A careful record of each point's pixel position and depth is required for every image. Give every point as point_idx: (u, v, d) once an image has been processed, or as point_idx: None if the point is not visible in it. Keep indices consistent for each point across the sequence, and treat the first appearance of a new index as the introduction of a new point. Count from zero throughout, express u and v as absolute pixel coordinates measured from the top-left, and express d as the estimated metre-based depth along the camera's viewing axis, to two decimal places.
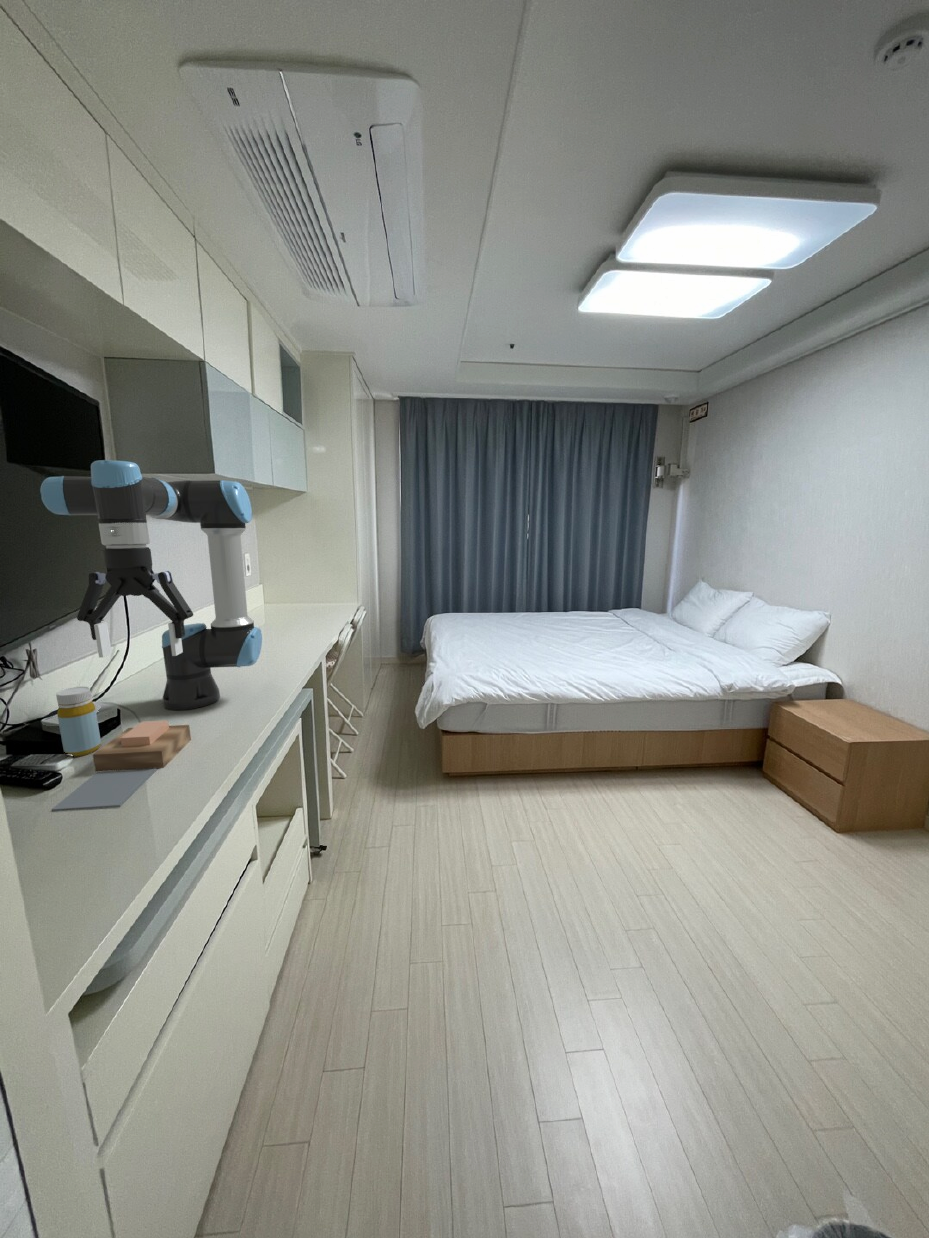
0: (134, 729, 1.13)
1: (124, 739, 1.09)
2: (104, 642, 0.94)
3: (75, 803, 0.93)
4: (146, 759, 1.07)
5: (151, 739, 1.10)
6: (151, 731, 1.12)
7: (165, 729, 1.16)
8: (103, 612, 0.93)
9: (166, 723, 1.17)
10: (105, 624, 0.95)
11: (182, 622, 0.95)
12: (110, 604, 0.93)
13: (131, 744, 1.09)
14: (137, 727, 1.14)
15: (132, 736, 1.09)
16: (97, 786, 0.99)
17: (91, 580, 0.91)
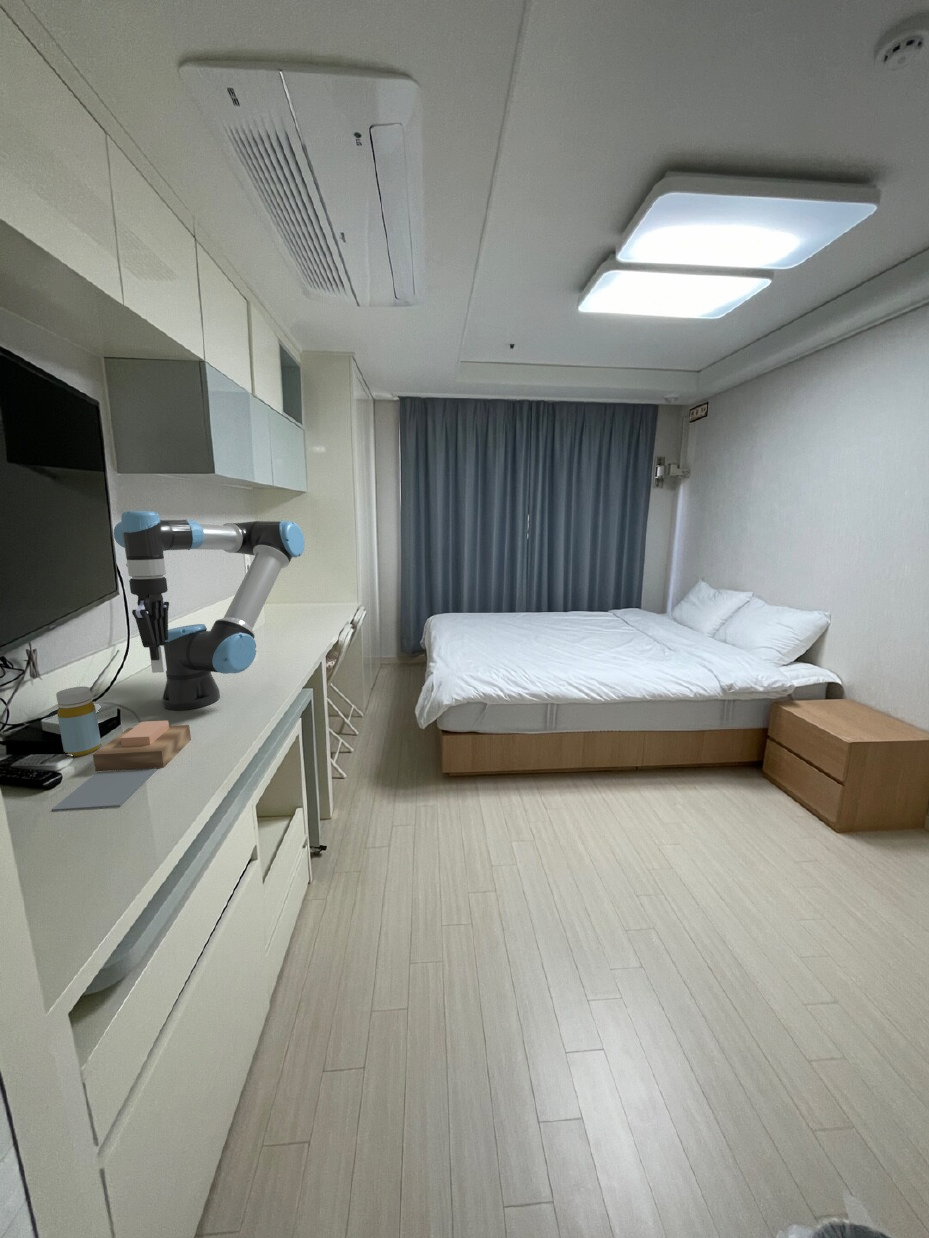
0: (134, 729, 1.13)
1: (124, 739, 1.09)
2: None
3: (75, 803, 0.93)
4: (146, 759, 1.07)
5: (151, 739, 1.10)
6: (151, 731, 1.12)
7: (165, 729, 1.16)
8: None
9: (166, 723, 1.17)
10: None
11: (153, 648, 1.17)
12: None
13: (131, 744, 1.09)
14: (137, 727, 1.14)
15: (132, 736, 1.09)
16: (97, 786, 0.99)
17: None
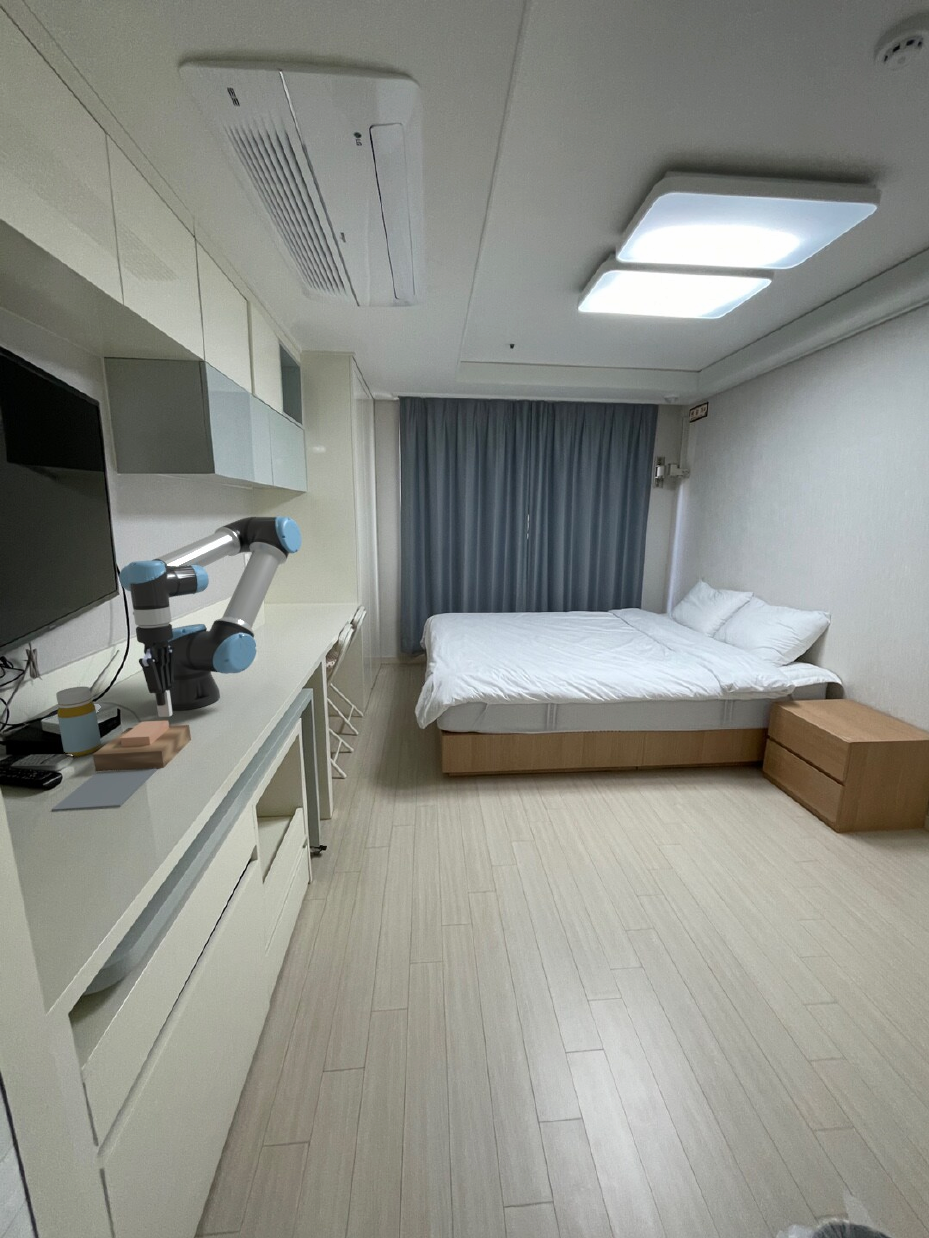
0: (134, 729, 1.13)
1: (124, 739, 1.09)
2: None
3: (75, 803, 0.93)
4: (146, 759, 1.07)
5: (151, 739, 1.10)
6: (151, 731, 1.12)
7: (165, 729, 1.16)
8: None
9: (166, 723, 1.17)
10: (166, 692, 1.22)
11: (159, 694, 1.20)
12: None
13: (131, 744, 1.09)
14: (137, 727, 1.14)
15: (132, 736, 1.09)
16: (97, 786, 0.99)
17: None
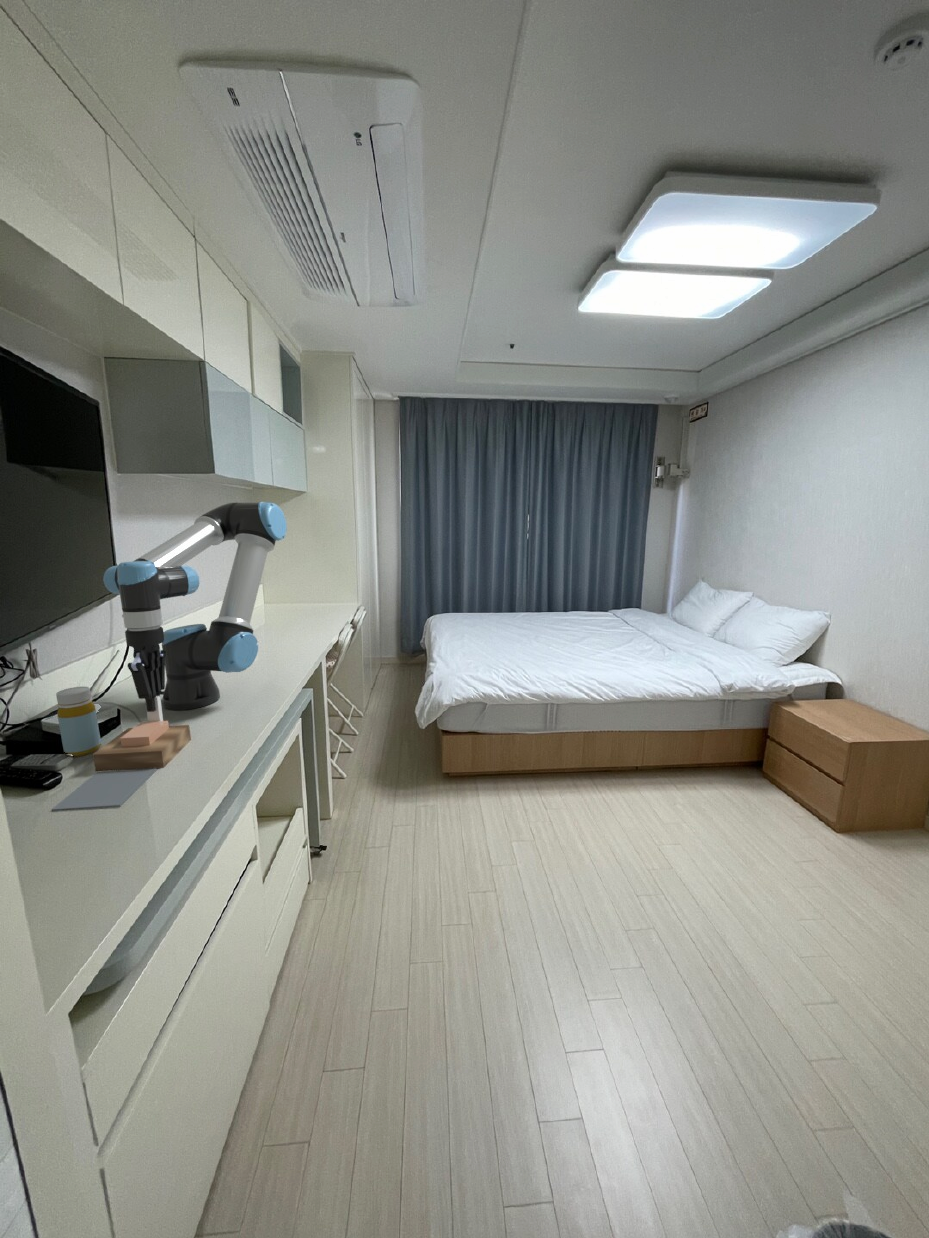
0: (134, 729, 1.13)
1: (124, 739, 1.08)
2: None
3: (75, 803, 0.93)
4: (146, 759, 1.07)
5: (151, 739, 1.10)
6: (151, 732, 1.11)
7: (165, 729, 1.16)
8: None
9: (166, 723, 1.17)
10: (156, 698, 1.17)
11: (149, 700, 1.15)
12: None
13: (131, 744, 1.09)
14: (137, 727, 1.14)
15: (132, 736, 1.09)
16: (97, 786, 0.99)
17: None
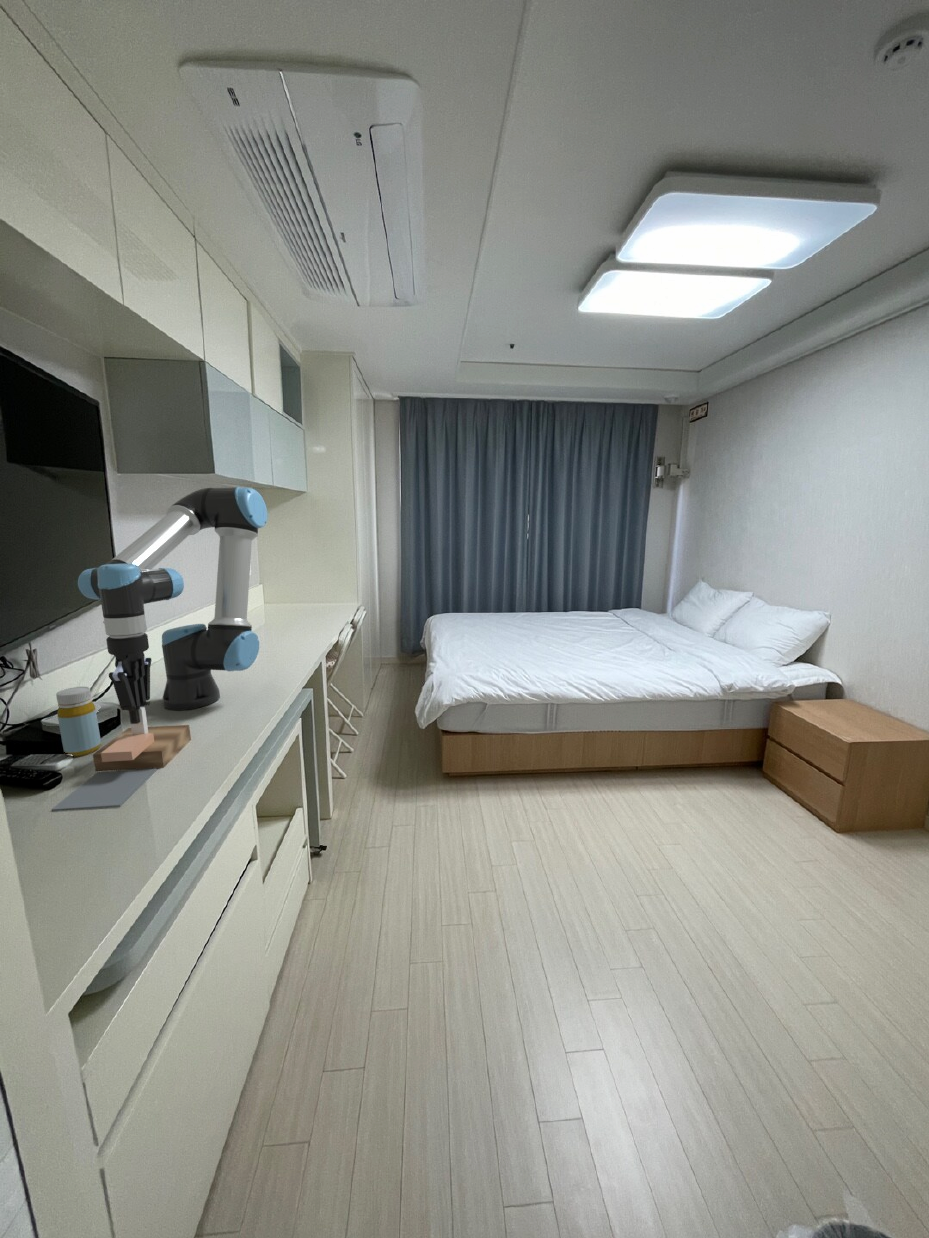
0: (116, 743, 1.06)
1: (105, 754, 1.02)
2: None
3: (75, 803, 0.93)
4: (146, 759, 1.07)
5: (134, 754, 1.03)
6: (134, 746, 1.04)
7: (150, 742, 1.09)
8: None
9: (151, 736, 1.10)
10: None
11: (132, 711, 1.08)
12: None
13: (112, 759, 1.02)
14: (119, 741, 1.07)
15: (113, 751, 1.02)
16: (97, 786, 0.99)
17: None
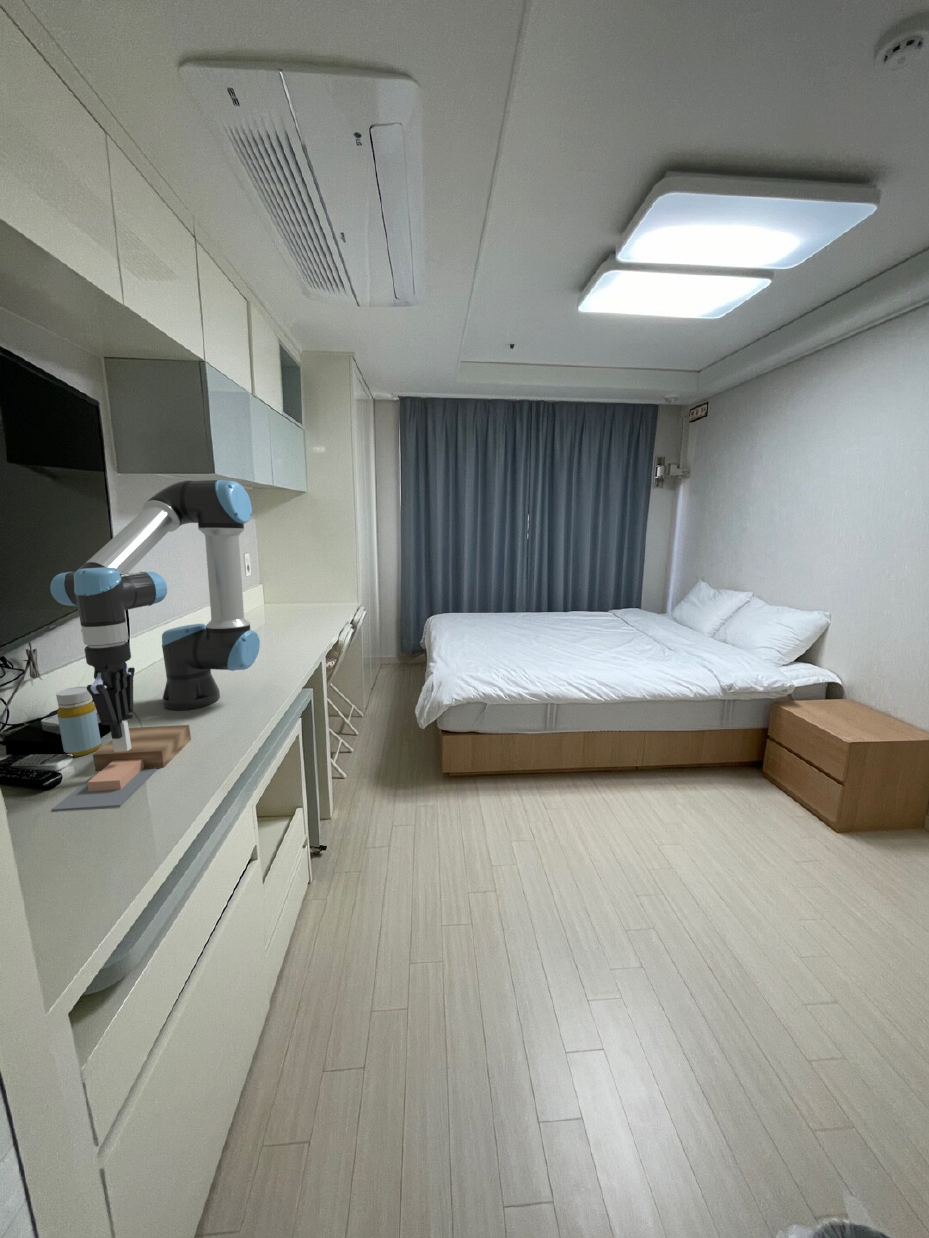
0: (104, 770, 1.01)
1: (91, 783, 0.97)
2: None
3: (75, 803, 0.93)
4: (146, 759, 1.07)
5: (122, 783, 0.99)
6: (122, 773, 1.00)
7: (139, 769, 1.05)
8: None
9: (140, 762, 1.05)
10: None
11: (114, 725, 1.01)
12: None
13: (99, 789, 0.97)
14: (107, 768, 1.02)
15: (100, 780, 0.98)
16: None
17: None
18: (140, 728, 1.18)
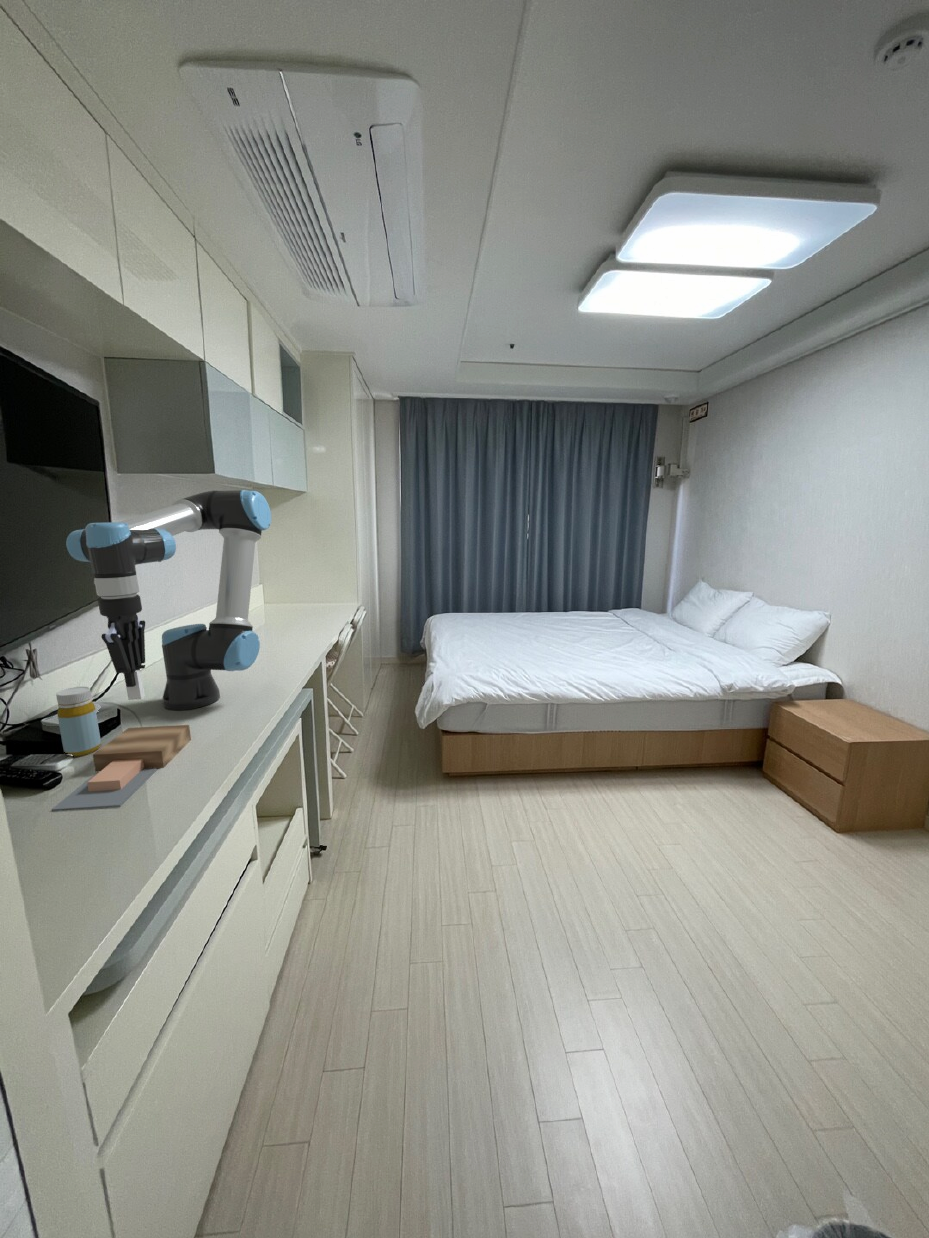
0: (104, 770, 1.01)
1: (91, 783, 0.97)
2: (133, 687, 1.09)
3: (75, 803, 0.93)
4: (146, 759, 1.07)
5: (122, 783, 0.99)
6: (122, 773, 1.00)
7: (139, 769, 1.05)
8: None
9: (140, 762, 1.05)
10: None
11: (128, 674, 1.06)
12: None
13: (99, 789, 0.97)
14: (107, 768, 1.02)
15: (100, 780, 0.98)
16: None
17: None
18: (140, 728, 1.18)
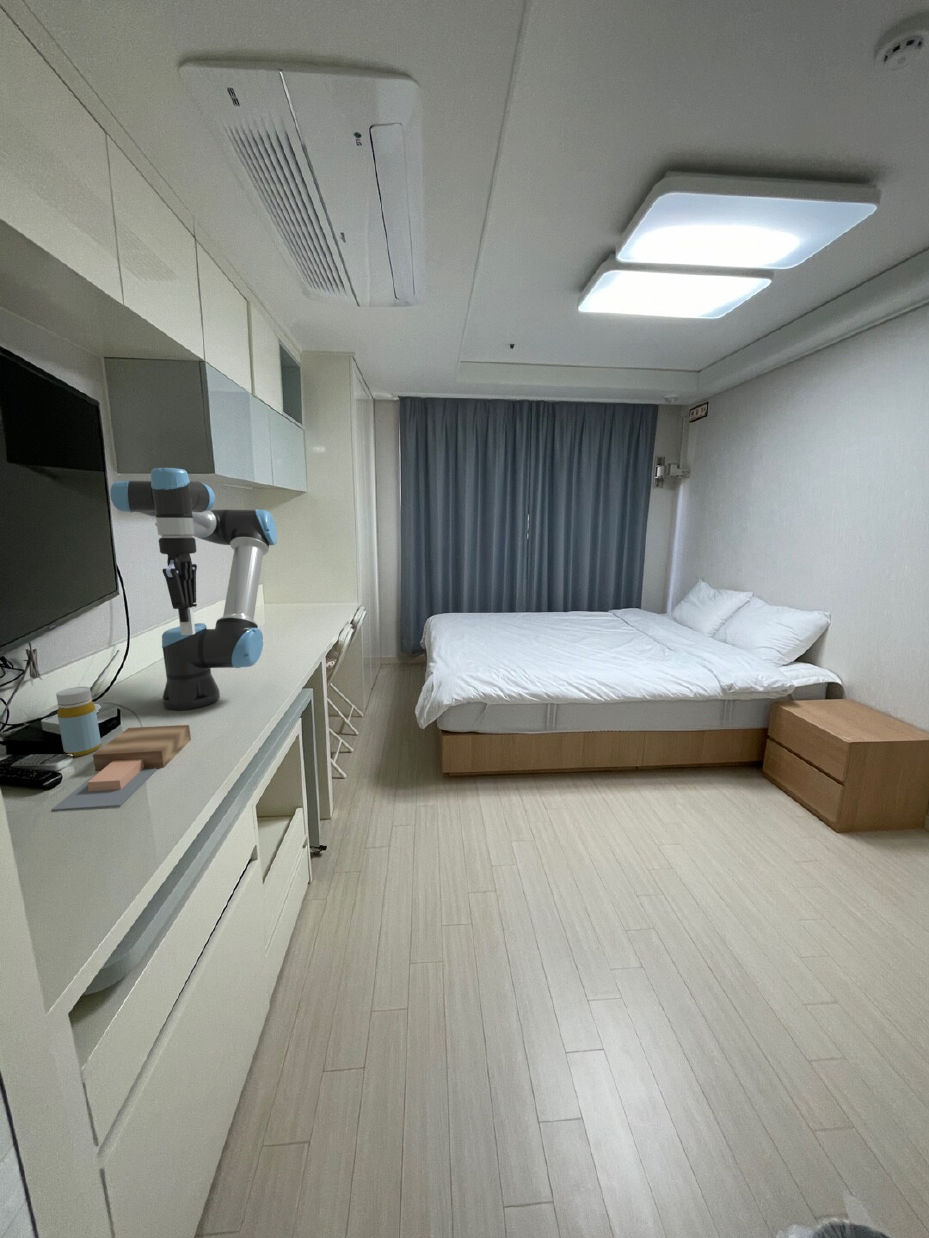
0: (104, 770, 1.01)
1: (91, 783, 0.97)
2: None
3: (75, 803, 0.93)
4: (146, 759, 1.07)
5: (122, 783, 0.99)
6: (122, 773, 1.00)
7: (139, 769, 1.05)
8: None
9: (140, 762, 1.05)
10: None
11: (182, 610, 1.16)
12: None
13: (99, 789, 0.97)
14: (107, 768, 1.02)
15: (100, 780, 0.98)
16: None
17: None
18: (140, 728, 1.18)
